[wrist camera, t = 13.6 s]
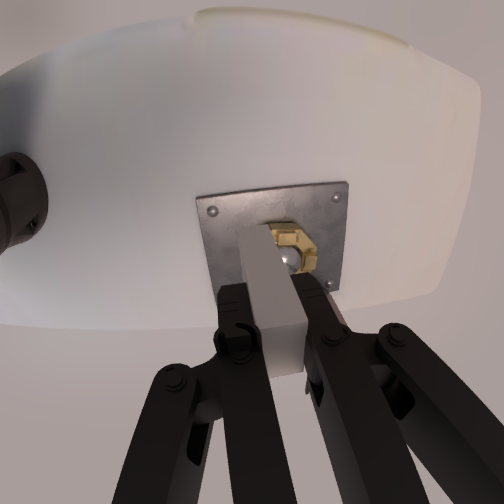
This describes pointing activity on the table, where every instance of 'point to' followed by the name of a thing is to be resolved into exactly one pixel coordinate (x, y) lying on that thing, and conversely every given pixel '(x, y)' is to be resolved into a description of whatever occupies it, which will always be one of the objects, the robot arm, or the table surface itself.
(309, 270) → the grey and tan piece
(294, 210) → the flange
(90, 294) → the table surface
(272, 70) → the table surface
